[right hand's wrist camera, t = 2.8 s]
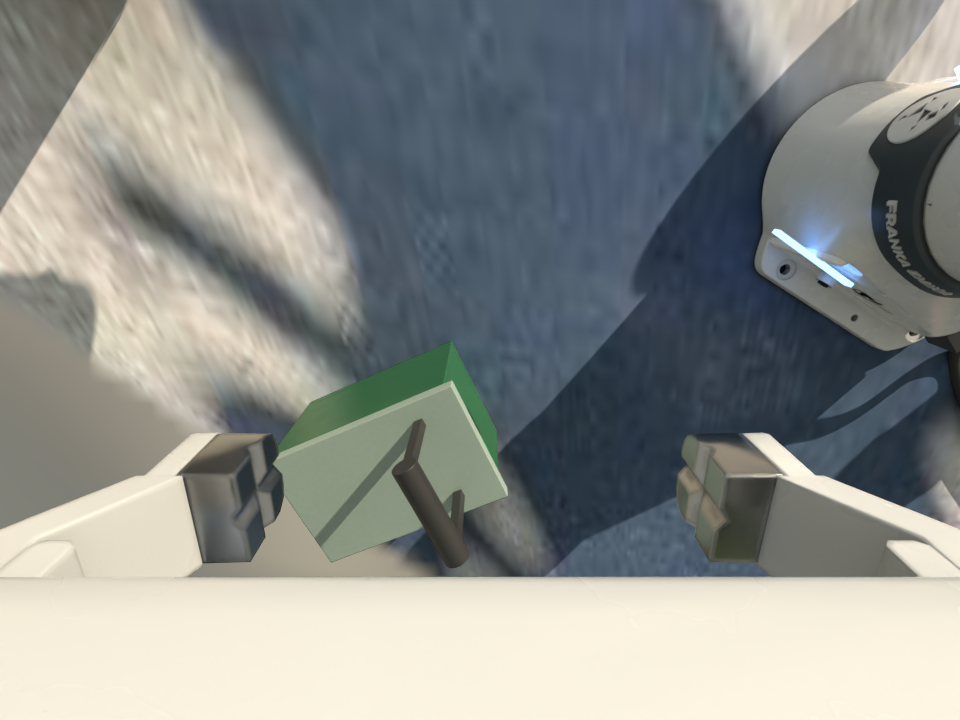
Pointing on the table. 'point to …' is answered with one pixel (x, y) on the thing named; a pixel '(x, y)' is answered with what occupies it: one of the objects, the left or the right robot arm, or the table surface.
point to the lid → (394, 477)
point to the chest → (394, 397)
